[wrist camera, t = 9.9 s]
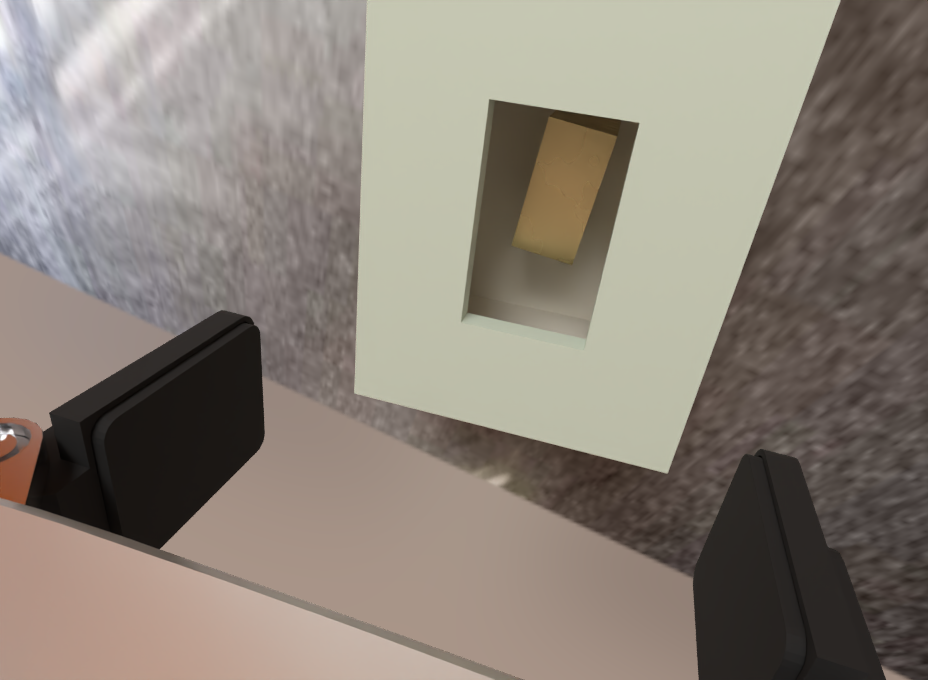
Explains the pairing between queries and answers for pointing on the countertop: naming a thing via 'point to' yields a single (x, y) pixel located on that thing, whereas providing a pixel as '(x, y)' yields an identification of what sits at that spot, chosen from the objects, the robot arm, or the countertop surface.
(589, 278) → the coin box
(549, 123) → the block
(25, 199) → the countertop surface
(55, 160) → the countertop surface
